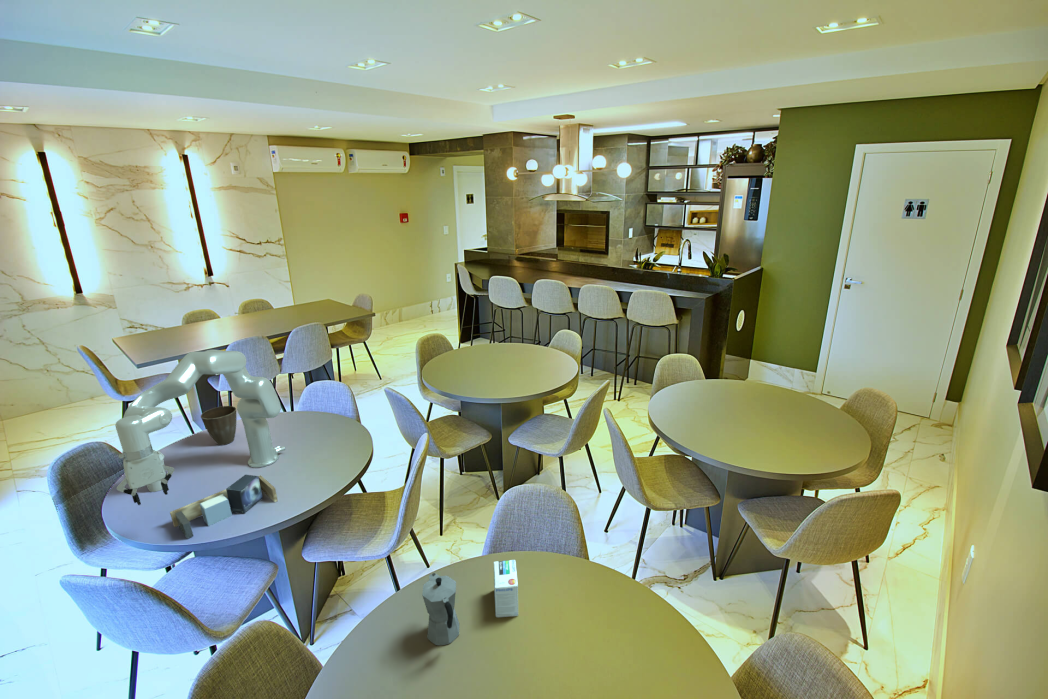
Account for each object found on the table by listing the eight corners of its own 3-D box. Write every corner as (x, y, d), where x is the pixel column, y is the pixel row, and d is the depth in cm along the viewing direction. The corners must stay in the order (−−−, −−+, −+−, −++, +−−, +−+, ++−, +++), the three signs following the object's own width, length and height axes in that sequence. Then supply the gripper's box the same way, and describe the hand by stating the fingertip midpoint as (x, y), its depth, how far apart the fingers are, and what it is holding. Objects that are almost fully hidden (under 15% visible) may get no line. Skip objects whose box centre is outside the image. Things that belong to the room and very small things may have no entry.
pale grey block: (227, 510, 193) (222, 493, 191) (232, 516, 190) (228, 499, 187) (203, 520, 188) (199, 503, 185) (208, 526, 184) (204, 509, 182)
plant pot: (210, 438, 250) (202, 409, 245) (243, 432, 256) (237, 403, 251) (206, 451, 237) (198, 421, 232) (241, 444, 243) (234, 414, 238)
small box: (245, 514, 190) (239, 490, 187) (230, 512, 192) (224, 489, 188) (264, 498, 200) (259, 475, 197) (249, 496, 201) (244, 473, 198)
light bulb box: (494, 589, 152) (492, 560, 148) (516, 587, 152) (515, 558, 149) (495, 618, 141) (493, 588, 138) (519, 616, 142) (518, 586, 139)
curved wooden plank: (263, 487, 207) (260, 475, 205) (277, 501, 198) (275, 487, 196) (173, 525, 185) (169, 512, 183) (185, 542, 176) (181, 528, 174)
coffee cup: (177, 483, 212) (168, 451, 207) (155, 495, 204) (145, 463, 199) (161, 479, 215) (152, 448, 210) (138, 491, 207) (128, 459, 202)
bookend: (185, 524, 185) (181, 510, 183) (193, 535, 179) (189, 522, 177) (178, 526, 184) (174, 513, 182) (187, 538, 177) (183, 525, 175)
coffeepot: (419, 621, 141) (413, 569, 135) (451, 608, 145) (446, 557, 140) (437, 664, 128) (431, 609, 123) (471, 648, 132) (467, 594, 127)
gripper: (108, 466, 157) (123, 514, 163) (172, 445, 169) (184, 491, 175) (103, 458, 162) (118, 505, 167) (166, 439, 174) (178, 483, 180)
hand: (152, 497), depth 171 cm, fingers open, 7 cm apart
